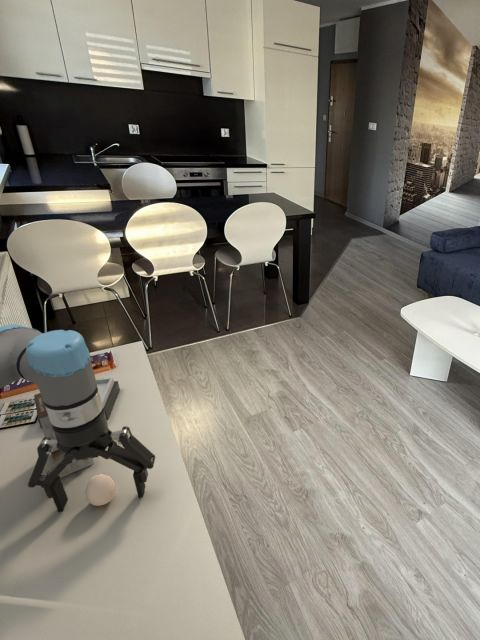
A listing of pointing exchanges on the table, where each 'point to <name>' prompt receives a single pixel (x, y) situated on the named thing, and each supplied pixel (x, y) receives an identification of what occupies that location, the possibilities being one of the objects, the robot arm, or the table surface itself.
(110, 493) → the egg
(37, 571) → the table surface
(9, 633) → the table surface
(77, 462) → the coffee box
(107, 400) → the kitchen scale
